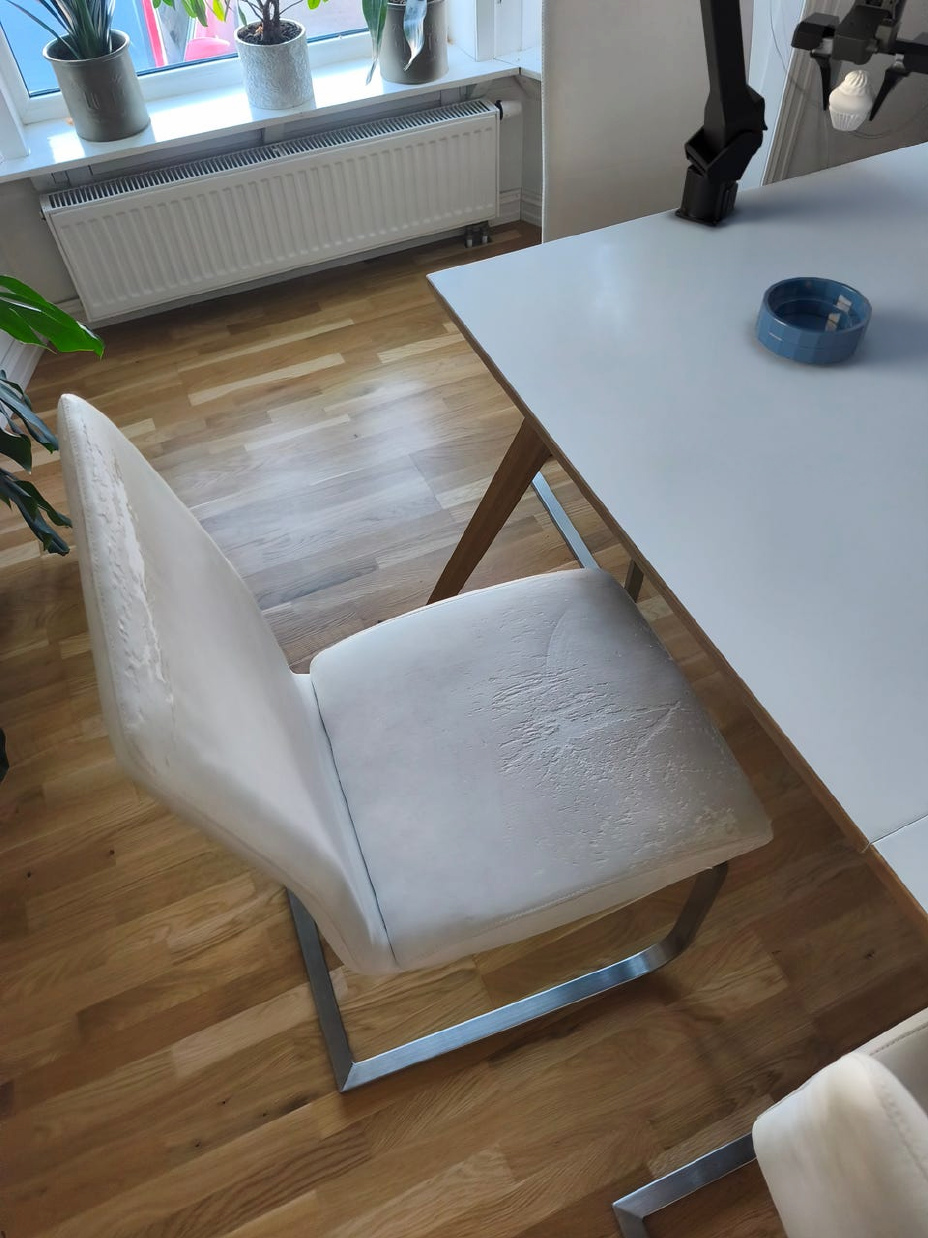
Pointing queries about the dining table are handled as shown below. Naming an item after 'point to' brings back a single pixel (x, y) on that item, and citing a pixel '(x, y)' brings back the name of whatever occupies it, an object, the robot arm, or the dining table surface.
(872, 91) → the muffin
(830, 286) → the bowl
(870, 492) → the dining table surface
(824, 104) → the robot arm
